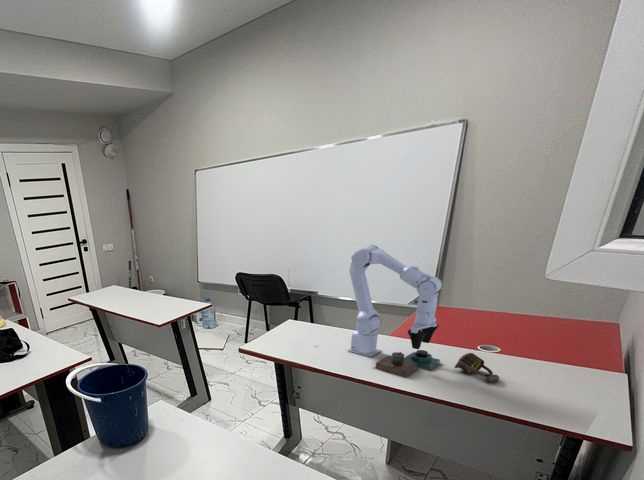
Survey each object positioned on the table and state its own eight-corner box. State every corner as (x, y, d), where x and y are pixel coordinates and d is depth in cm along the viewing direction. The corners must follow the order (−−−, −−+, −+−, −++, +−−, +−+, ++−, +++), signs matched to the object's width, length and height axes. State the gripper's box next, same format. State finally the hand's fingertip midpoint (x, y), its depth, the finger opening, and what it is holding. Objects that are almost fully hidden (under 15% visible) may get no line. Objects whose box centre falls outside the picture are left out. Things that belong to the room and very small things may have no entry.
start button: (414, 356, 138) (414, 352, 137) (418, 353, 140) (419, 349, 139) (424, 358, 135) (424, 354, 134) (428, 355, 137) (429, 351, 136)
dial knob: (399, 366, 133) (401, 356, 132) (388, 363, 136) (389, 354, 135) (405, 362, 135) (406, 353, 134) (394, 359, 138) (395, 350, 137)
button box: (401, 362, 141) (402, 354, 139) (411, 356, 144) (412, 348, 143) (429, 370, 133) (431, 362, 131) (439, 363, 137) (441, 355, 135)
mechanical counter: (483, 352, 129) (454, 348, 130) (510, 364, 117) (479, 360, 118) (475, 370, 132) (447, 367, 132) (502, 384, 119) (471, 380, 120)
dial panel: (375, 368, 139) (376, 362, 138) (387, 360, 143) (388, 354, 142) (405, 377, 130) (406, 370, 129) (417, 369, 135) (418, 362, 134)
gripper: (428, 318, 123) (422, 354, 129) (447, 308, 130) (441, 342, 136) (406, 314, 129) (402, 349, 134) (426, 305, 136) (421, 338, 141)
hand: (420, 345), depth 135 cm, fingers open, 7 cm apart
